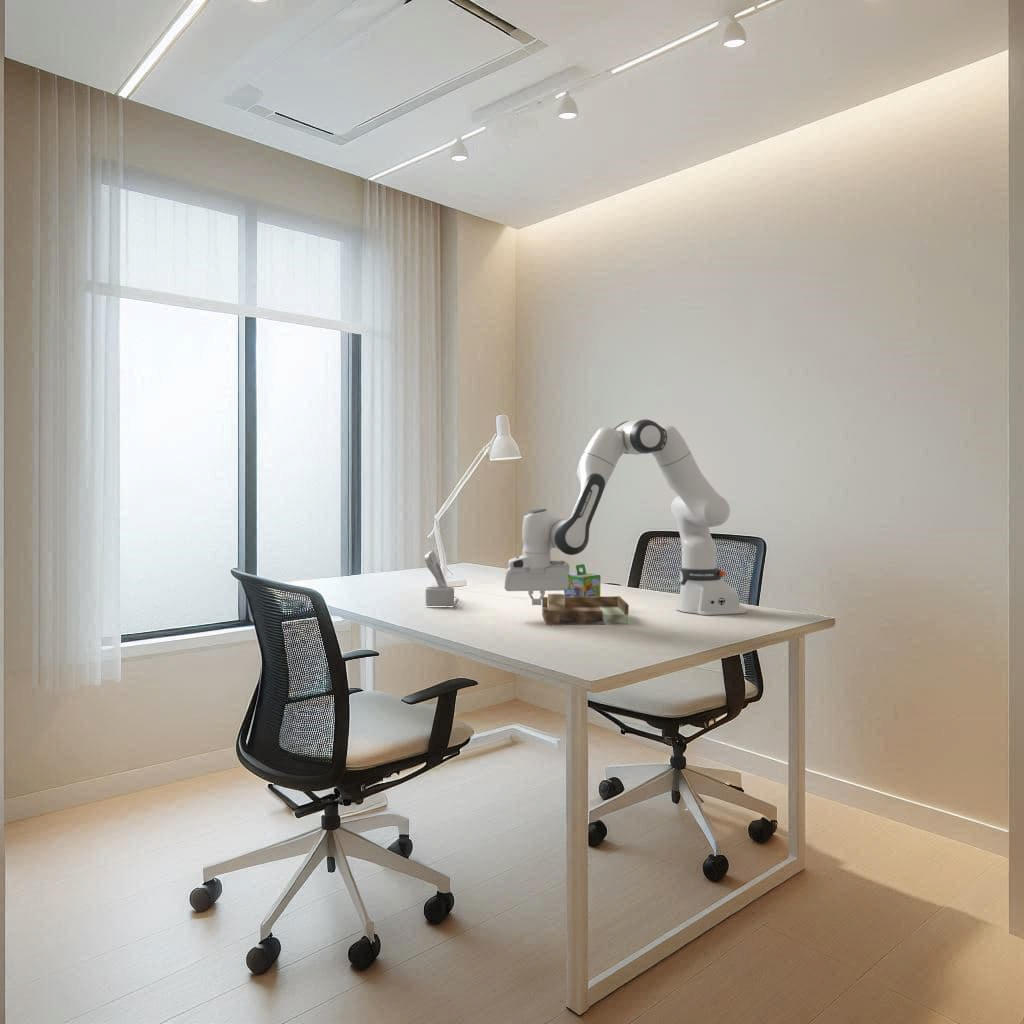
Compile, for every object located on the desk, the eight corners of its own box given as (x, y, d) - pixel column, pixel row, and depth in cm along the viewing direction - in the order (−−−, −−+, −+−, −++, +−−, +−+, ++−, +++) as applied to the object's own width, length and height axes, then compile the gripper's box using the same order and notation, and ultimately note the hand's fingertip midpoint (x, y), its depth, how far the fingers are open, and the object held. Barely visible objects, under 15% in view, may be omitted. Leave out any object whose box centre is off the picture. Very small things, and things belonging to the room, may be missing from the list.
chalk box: (584, 612, 254) (584, 567, 253) (563, 608, 260) (563, 565, 259) (601, 608, 260) (601, 564, 259) (580, 605, 267) (580, 562, 266)
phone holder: (453, 607, 262) (453, 555, 261) (424, 607, 262) (423, 555, 261) (458, 598, 280) (458, 549, 278) (430, 598, 280) (430, 549, 279)
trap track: (619, 614, 249) (619, 596, 249) (628, 624, 234) (628, 604, 234) (542, 615, 248) (542, 597, 248) (546, 625, 233) (546, 605, 233)
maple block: (563, 607, 246) (563, 593, 245) (564, 610, 241) (564, 596, 240) (547, 607, 246) (547, 593, 245) (548, 610, 241) (548, 596, 240)
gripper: (568, 559, 246) (568, 602, 246) (503, 560, 245) (504, 603, 246) (570, 561, 239) (570, 606, 240) (504, 562, 238) (504, 607, 239)
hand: (536, 604), depth 243 cm, fingers closed
